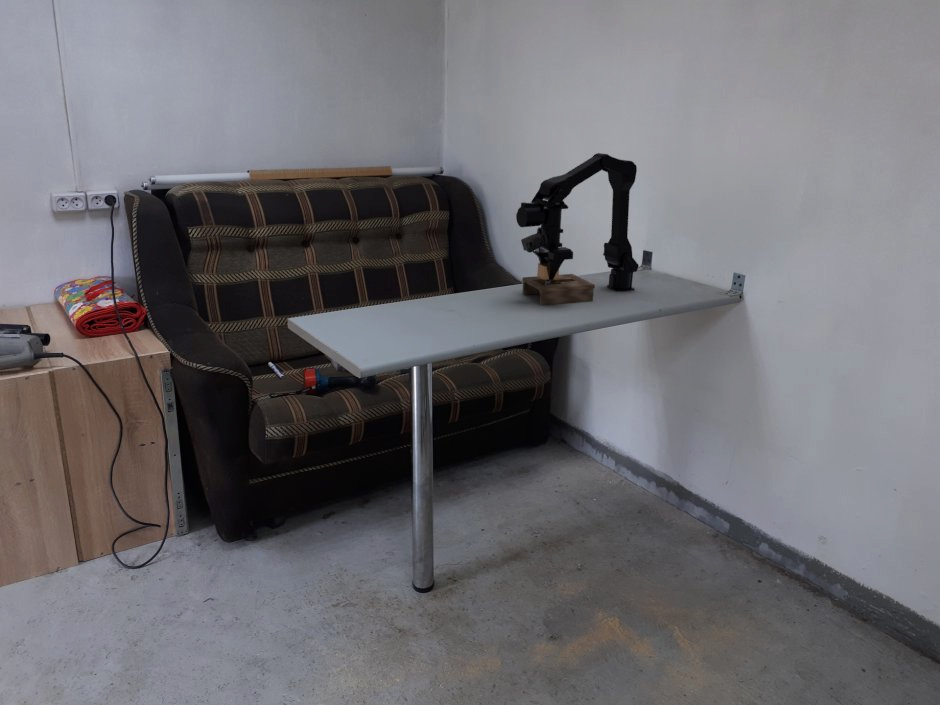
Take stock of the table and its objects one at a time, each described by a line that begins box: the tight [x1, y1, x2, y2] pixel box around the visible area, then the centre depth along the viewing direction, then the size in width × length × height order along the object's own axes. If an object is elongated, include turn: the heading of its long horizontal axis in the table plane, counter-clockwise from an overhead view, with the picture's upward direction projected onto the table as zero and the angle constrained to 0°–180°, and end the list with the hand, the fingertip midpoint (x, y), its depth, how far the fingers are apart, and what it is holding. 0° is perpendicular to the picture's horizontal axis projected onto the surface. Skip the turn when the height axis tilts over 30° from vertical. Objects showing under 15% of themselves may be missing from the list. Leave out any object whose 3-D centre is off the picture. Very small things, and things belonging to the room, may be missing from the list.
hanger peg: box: [536, 262, 560, 294], centre depth 212 cm, size 5×5×8 cm
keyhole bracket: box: [521, 273, 596, 306], centre depth 215 cm, size 17×14×5 cm
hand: (547, 277), depth 212 cm, fingers closed on hanger peg, 4 cm apart
